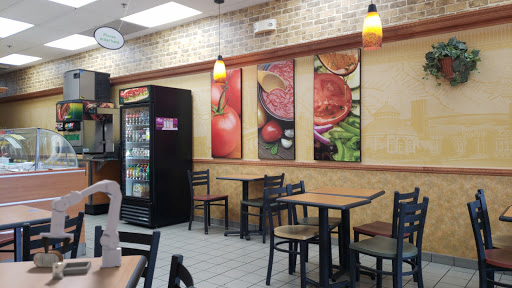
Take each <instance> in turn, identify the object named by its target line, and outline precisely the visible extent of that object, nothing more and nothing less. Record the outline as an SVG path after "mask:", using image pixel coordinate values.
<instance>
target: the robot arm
mask: <svg viewBox="0 0 512 288" xmlns="http://www.w3.org/2000/svg"><path fill="white" fill-rule="evenodd" d="M120 188H121V185H120V184H119V183H118V182H117V181H115V180H109V179H102V180H101V181H97V182H96V183H94V184H92V185H90V186H88V187H86V188H84V189H83V190H80V191H78V190H71V191H70V193H68V194H65V195H61V196H60V198H54V199H53V200H52V201H51V203H50V204H49V206H50V209H51V220H50V232H40V233H39V239H40V241H41V244H42V246H43V250H45V254H47V253H48V252H49V249H50V241H51V239H62V252H61V254H62V255H65V254H66V253H67V249H68V246H69V245H70V242H72V239H74V238H75V237H74V235H75V234H74V233H68V232H67V233H66V232H64V231H65V222H66V211H67V210H68V208H70V207H72V206H75V205H76V204H78V203H80V202H82V200H83V199H84V198H86V197H88V196H90V195H92V194H94V193H95V194H96V193H97V192H102V193H104V194H105V195H107V196H108V197H109V199H110V201H109V207H108V208H109V209H108V212H107V219H106V225H105V229H104V230H103V231H102V235H101V237H100V239H99V243H100V244H101V246H102V247H101V265H100V269H103V268H116V267H115V266H119V267H121V265H120V264H122V247H118V246H119V245H120V237H119V236H120V234H119V231H118V224H119V218H120V211H121V205H122V200H123V195H122V191H121V189H120Z"/></svg>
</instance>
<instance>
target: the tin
mask: <svg viewBox="0 0 512 288" xmlns="http://www.w3.org/2000/svg"><path fill="white" fill-rule="evenodd" d="M32 258H33V259H32V260H33V264H34V266H36V267H38V268H47V269H53V263H56V262H63V263H64V256H63V254H62V252H61V251H58V250H49V252H48V253H47V254H45V250H44V249H40V250H39V251H37V252H35V254H33V257H32Z"/></svg>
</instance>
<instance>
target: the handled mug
mask: <svg viewBox="0 0 512 288" xmlns="http://www.w3.org/2000/svg"><path fill="white" fill-rule="evenodd" d="M63 266H64V261H63V262H56V263H53V268H52V280H53V281H59V280H63V279H64V275H63Z"/></svg>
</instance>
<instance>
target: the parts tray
mask: <svg viewBox="0 0 512 288" xmlns="http://www.w3.org/2000/svg"><path fill="white" fill-rule="evenodd" d="M91 267H92V260H89V261H88V260H87V261H73V262H65V263H63V276H72V275H84V274H88V273H89V270H90V269H91Z"/></svg>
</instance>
